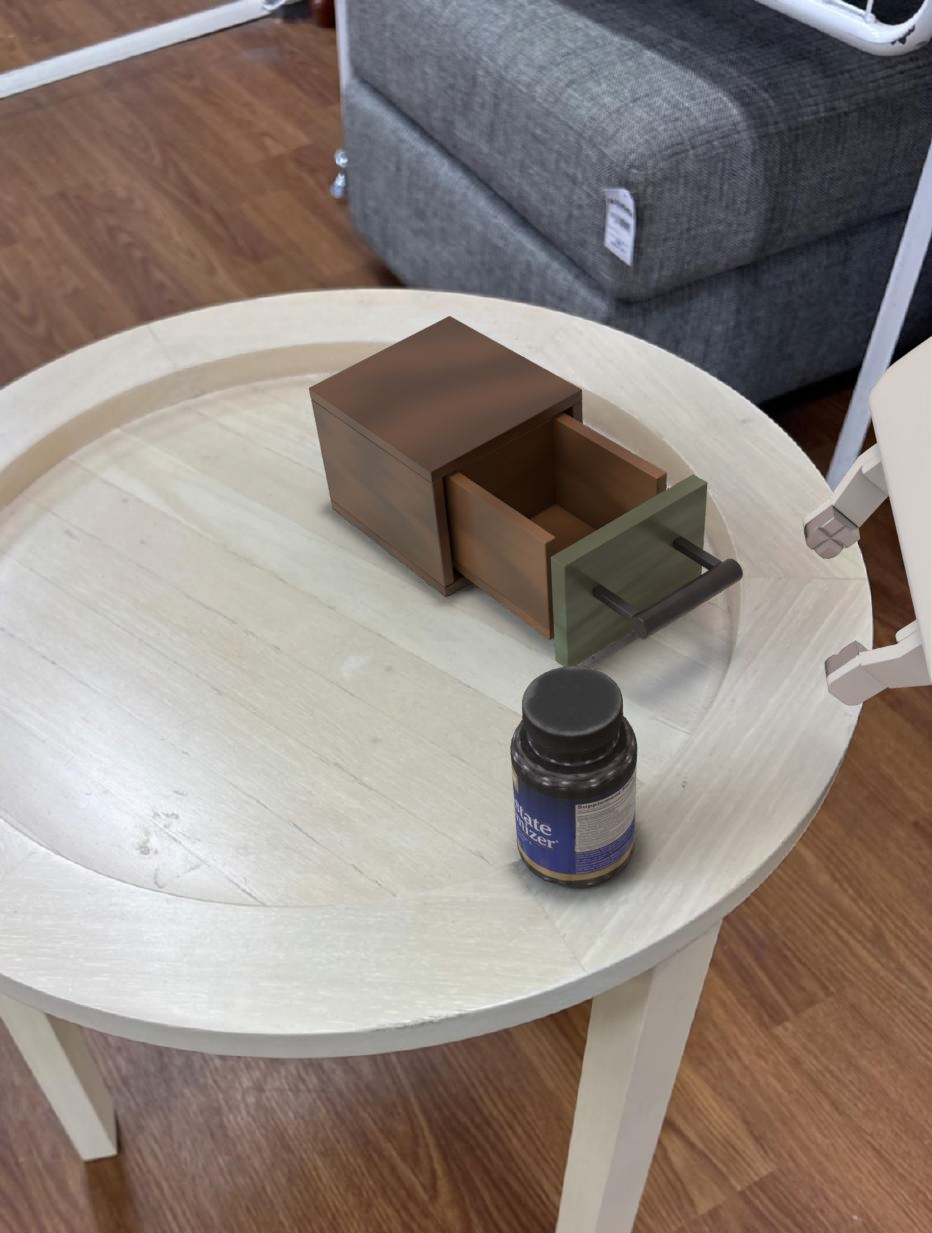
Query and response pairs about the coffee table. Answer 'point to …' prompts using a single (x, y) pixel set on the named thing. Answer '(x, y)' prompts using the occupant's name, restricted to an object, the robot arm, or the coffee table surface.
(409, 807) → the coffee table surface
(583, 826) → the pill bottle
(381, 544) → the cabinet
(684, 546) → the drawer
